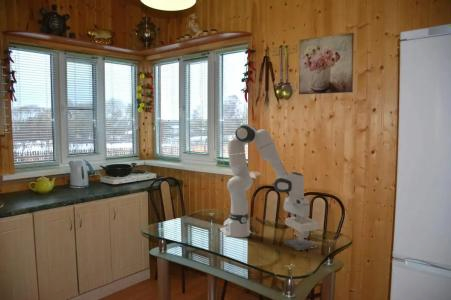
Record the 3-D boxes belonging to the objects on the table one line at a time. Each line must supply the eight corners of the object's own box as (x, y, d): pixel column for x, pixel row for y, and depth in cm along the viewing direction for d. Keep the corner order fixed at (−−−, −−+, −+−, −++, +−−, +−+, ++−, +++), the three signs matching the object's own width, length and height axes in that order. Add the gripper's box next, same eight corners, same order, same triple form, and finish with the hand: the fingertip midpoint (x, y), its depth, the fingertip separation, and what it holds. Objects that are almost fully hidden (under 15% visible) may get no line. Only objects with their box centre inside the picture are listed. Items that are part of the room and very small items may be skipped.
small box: (293, 236, 225) (294, 220, 224) (299, 234, 228) (300, 218, 228) (303, 239, 219) (304, 223, 218) (309, 237, 222) (310, 221, 222)
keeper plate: (284, 243, 209) (284, 230, 209) (301, 240, 216) (302, 228, 215) (299, 251, 197) (299, 237, 196) (317, 247, 204) (318, 234, 203)
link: (285, 224, 209) (285, 218, 208) (302, 221, 215) (303, 215, 215) (300, 232, 196) (300, 225, 196) (318, 229, 203) (319, 222, 203)
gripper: (281, 196, 218) (280, 217, 218) (303, 202, 200) (302, 225, 200) (289, 195, 221) (288, 216, 221) (311, 201, 203) (310, 224, 203)
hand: (295, 221), depth 211 cm, fingers closed on link, 2 cm apart
